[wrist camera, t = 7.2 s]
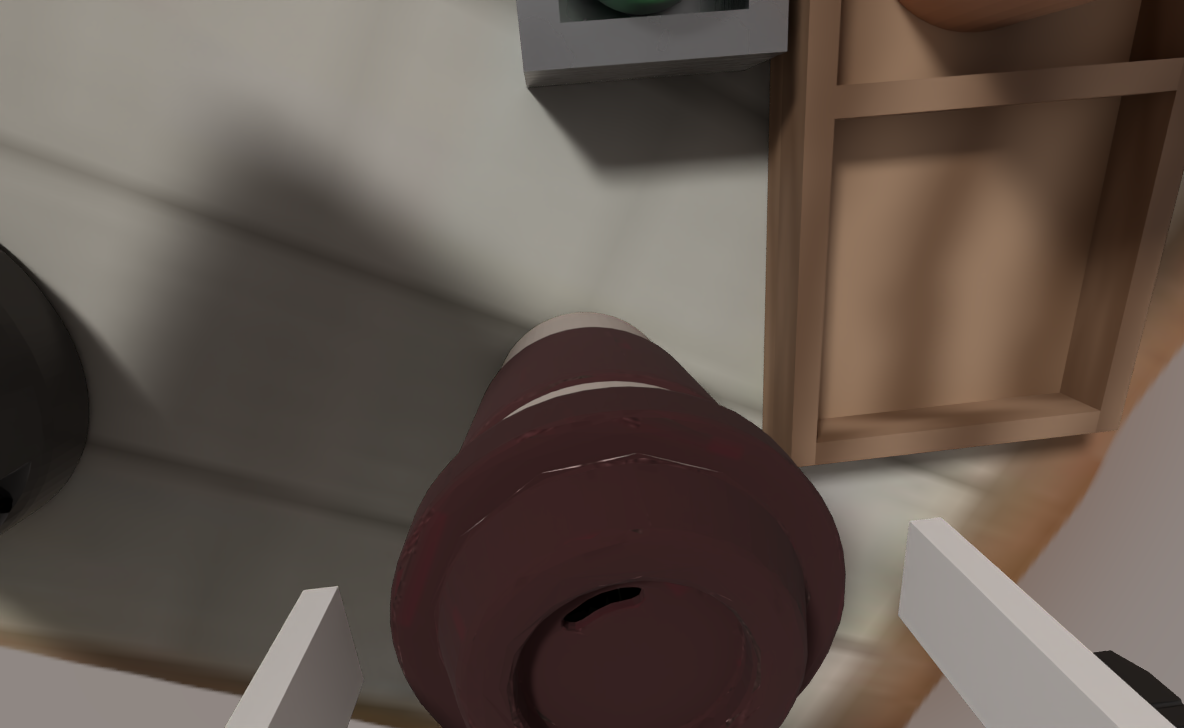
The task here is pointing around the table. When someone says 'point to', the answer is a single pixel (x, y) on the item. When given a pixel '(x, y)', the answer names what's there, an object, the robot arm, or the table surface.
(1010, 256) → the divided tray
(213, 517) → the table surface
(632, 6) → the button
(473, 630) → the coffee cup
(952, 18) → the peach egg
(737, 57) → the grey square frame
